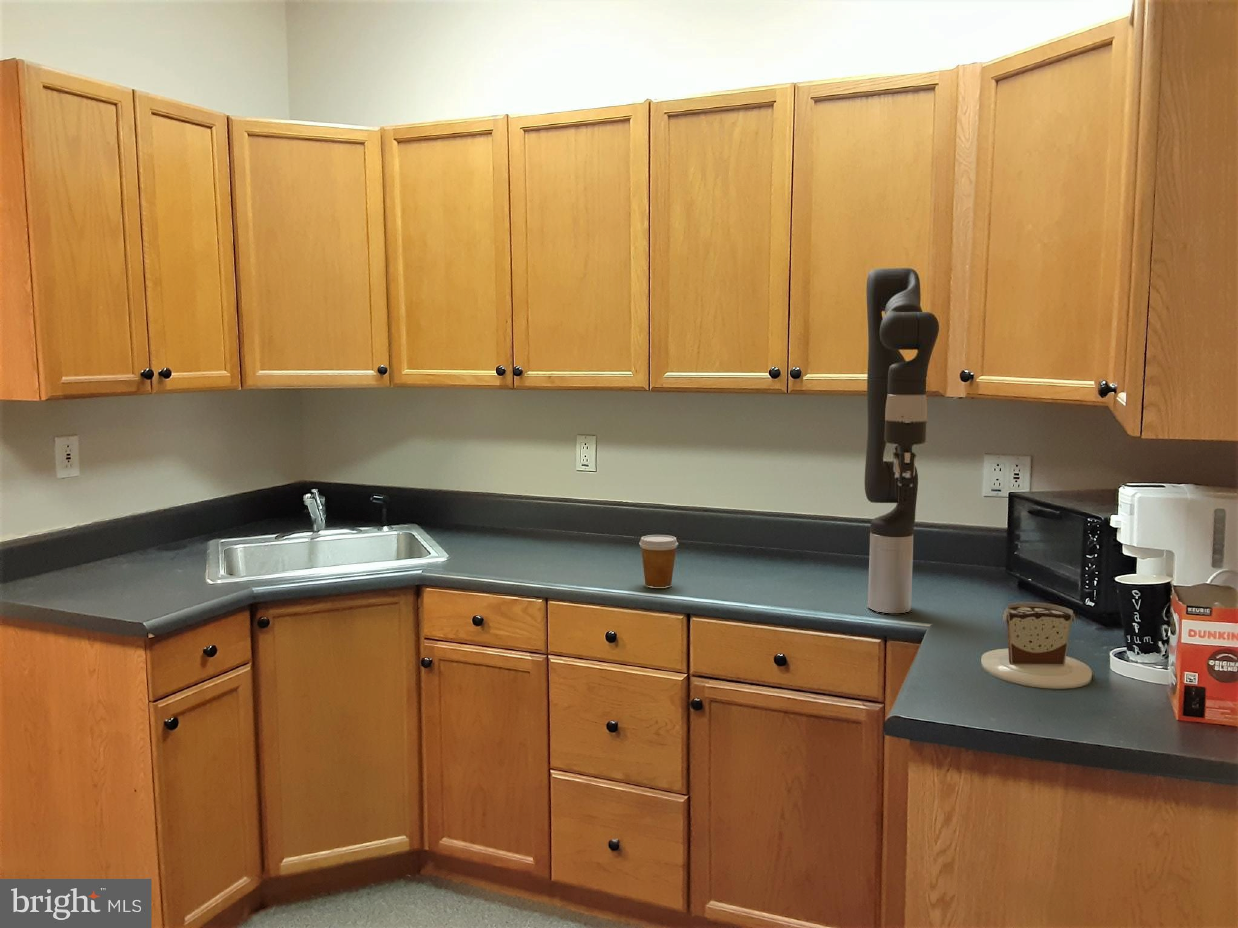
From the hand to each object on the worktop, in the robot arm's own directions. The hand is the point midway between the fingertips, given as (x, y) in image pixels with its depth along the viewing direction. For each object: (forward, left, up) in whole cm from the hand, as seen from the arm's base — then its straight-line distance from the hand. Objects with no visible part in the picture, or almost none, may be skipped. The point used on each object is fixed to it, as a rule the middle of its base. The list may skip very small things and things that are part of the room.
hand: (902, 502), depth 175 cm
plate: (+10, +23, -28) cm, 38 cm away
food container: (+8, +23, -27) cm, 36 cm away
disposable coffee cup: (-35, -54, -28) cm, 70 cm away
